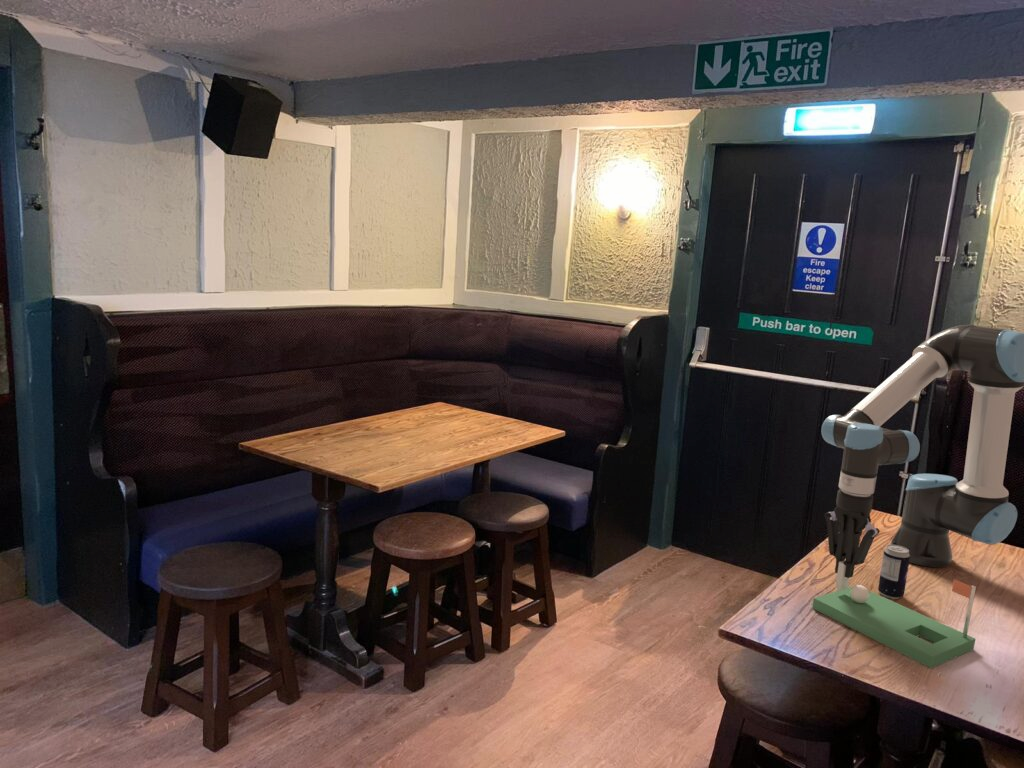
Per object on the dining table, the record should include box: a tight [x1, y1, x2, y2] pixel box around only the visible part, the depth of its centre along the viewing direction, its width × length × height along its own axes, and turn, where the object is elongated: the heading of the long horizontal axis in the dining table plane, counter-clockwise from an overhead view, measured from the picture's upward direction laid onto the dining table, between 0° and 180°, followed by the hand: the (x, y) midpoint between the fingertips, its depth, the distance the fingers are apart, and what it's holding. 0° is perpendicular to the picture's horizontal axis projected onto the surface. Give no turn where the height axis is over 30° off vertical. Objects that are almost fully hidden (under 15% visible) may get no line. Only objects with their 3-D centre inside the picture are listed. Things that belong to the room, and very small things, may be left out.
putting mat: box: [812, 584, 976, 669], centre depth 171 cm, size 16×28×2 cm, turn 32°
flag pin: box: [951, 579, 977, 638], centre depth 165 cm, size 1×4×14 cm, turn 32°
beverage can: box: [877, 544, 910, 600], centre depth 187 cm, size 6×6×12 cm
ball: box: [850, 584, 870, 603], centre depth 177 cm, size 4×4×4 cm
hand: (841, 588), depth 181 cm, fingers closed
